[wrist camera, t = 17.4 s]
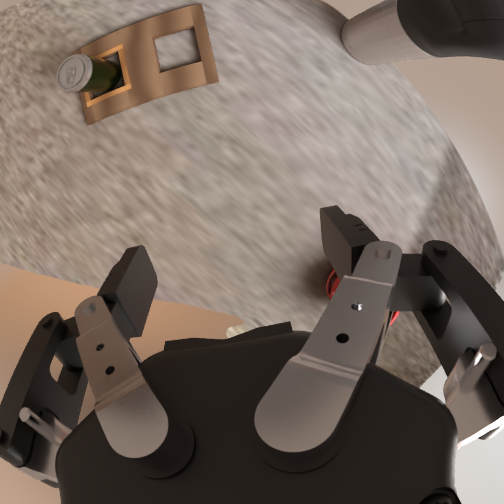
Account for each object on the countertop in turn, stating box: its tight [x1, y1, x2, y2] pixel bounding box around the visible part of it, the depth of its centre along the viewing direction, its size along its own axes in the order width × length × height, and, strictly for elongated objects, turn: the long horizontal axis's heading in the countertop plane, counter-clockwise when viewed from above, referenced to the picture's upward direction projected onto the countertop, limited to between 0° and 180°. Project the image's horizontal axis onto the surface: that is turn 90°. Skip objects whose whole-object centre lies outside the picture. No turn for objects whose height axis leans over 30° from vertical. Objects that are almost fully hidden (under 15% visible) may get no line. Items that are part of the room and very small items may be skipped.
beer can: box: [56, 54, 122, 93], centre depth 28 cm, size 5×5×12 cm
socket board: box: [72, 4, 219, 125], centre depth 32 cm, size 22×14×2 cm, turn 101°
